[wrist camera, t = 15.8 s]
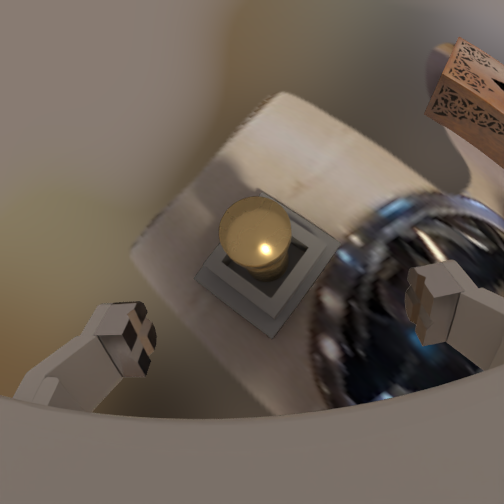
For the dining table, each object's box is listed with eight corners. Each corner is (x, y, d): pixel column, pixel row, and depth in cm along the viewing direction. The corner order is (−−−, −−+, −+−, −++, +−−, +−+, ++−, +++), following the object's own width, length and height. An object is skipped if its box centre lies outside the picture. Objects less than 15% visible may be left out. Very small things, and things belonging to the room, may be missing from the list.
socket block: (272, 338, 38) (270, 338, 33) (196, 280, 41) (185, 273, 37) (339, 246, 40) (344, 235, 36) (262, 195, 43) (259, 180, 39)
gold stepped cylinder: (271, 297, 38) (260, 280, 27) (229, 266, 39) (204, 237, 29) (304, 254, 38) (305, 221, 28) (262, 225, 40) (248, 184, 30)
